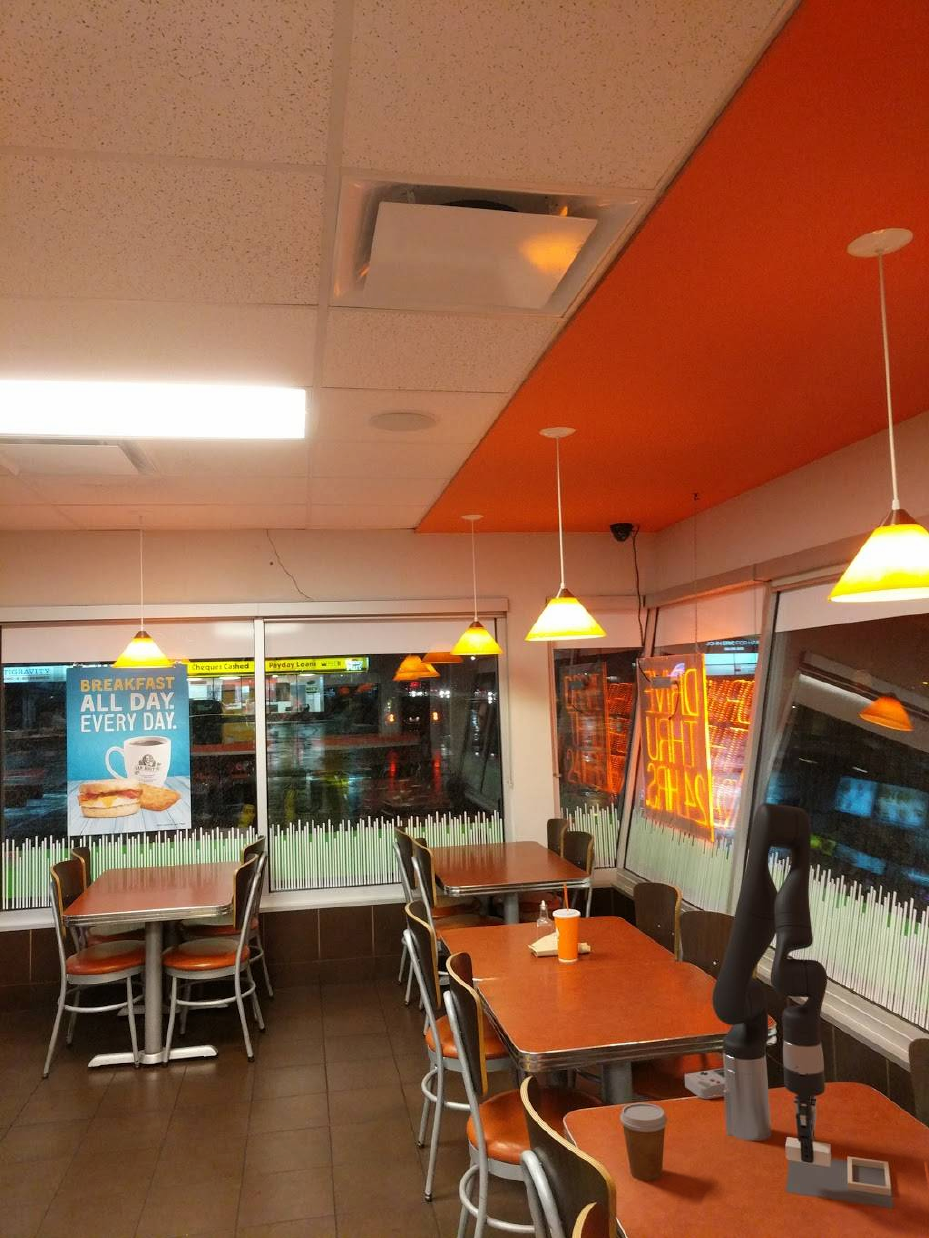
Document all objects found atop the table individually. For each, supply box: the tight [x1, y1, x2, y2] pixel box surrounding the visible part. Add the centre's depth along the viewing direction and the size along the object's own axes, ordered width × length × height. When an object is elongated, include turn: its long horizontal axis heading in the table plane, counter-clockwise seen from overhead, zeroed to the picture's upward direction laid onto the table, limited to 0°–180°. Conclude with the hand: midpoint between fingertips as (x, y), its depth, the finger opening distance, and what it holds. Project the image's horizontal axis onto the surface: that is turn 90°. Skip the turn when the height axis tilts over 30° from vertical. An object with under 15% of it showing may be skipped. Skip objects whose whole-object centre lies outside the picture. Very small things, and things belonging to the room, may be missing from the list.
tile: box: [784, 1136, 832, 1167], centre depth 177 cm, size 8×4×2 cm, turn 66°
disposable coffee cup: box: [619, 1102, 668, 1182], centre depth 186 cm, size 10×10×12 cm
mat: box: [785, 1155, 895, 1210], centre depth 180 cm, size 19×17×2 cm
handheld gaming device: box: [684, 1067, 725, 1100], centre depth 227 cm, size 9×15×4 cm, turn 106°
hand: (808, 1155), depth 177 cm, fingers closed on tile, 4 cm apart
